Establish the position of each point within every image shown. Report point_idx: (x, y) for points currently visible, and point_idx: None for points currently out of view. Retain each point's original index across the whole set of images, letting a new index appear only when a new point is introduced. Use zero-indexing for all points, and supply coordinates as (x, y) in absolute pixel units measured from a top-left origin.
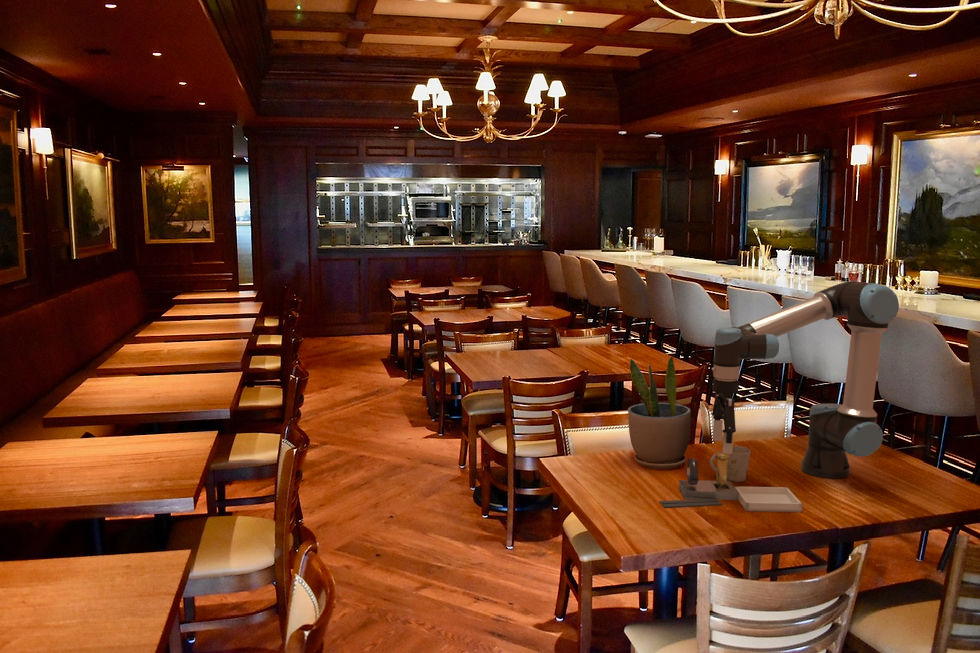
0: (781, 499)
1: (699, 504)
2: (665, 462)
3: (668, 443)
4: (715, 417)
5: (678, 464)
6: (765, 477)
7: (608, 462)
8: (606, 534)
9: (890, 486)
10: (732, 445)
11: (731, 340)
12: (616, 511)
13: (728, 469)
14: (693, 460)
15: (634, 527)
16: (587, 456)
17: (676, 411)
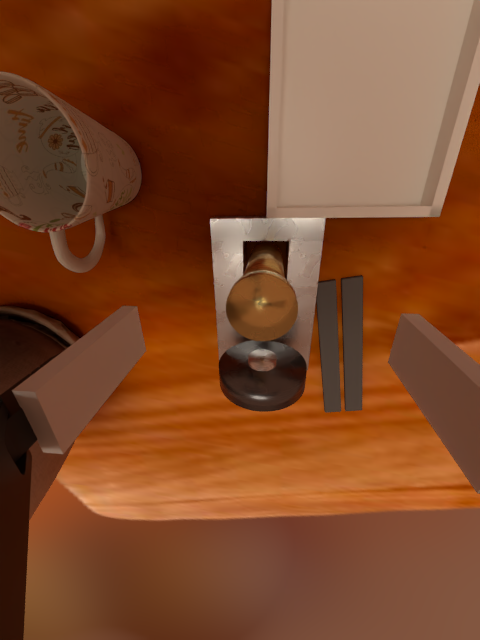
0: (350, 19)
1: (358, 337)
2: None
3: None
4: (28, 469)
5: (71, 335)
6: (56, 22)
7: (83, 446)
8: (477, 506)
9: None
10: (451, 342)
11: None
12: (367, 478)
13: (115, 207)
14: (270, 401)
15: (458, 469)
16: (60, 469)
17: None
